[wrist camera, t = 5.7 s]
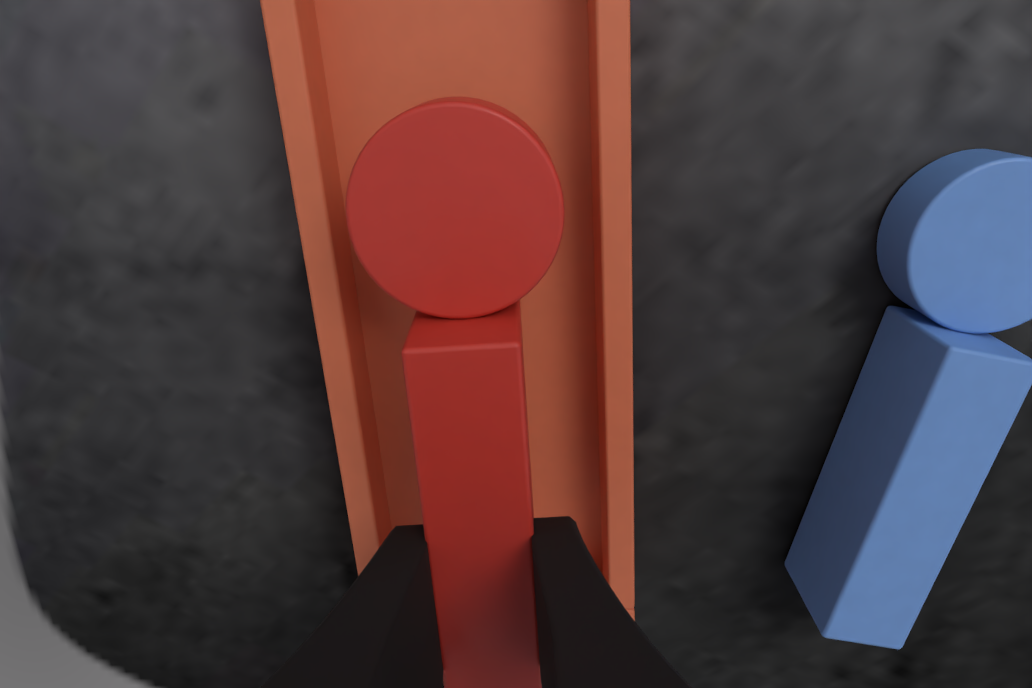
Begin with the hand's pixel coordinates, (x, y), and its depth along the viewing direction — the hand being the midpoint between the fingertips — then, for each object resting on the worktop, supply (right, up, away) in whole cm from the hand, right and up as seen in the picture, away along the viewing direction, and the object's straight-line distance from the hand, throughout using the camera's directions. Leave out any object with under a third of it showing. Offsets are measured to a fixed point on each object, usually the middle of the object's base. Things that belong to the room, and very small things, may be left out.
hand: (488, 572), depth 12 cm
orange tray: (0, +5, +2) cm, 5 cm away
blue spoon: (+8, +3, +2) cm, 9 cm away
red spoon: (0, +3, 0) cm, 3 cm away
